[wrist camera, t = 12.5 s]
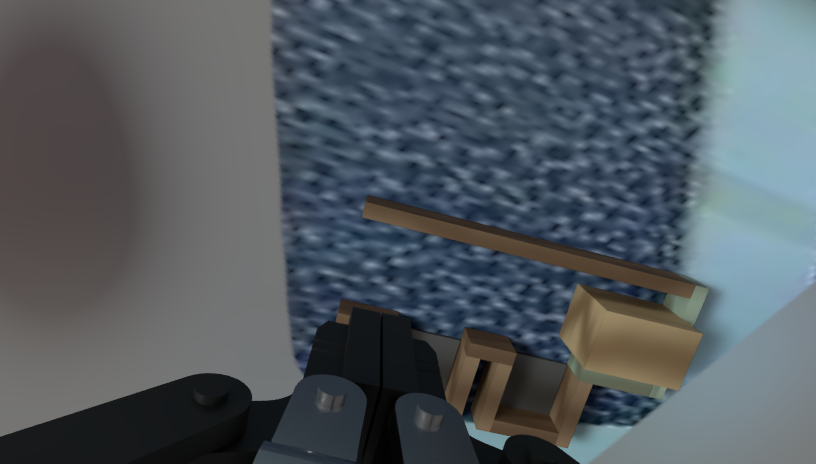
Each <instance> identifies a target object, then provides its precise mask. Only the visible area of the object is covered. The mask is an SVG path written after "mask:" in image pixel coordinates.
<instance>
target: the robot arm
mask: <svg viewBox="0 0 816 464" xmlns="http://www.w3.org/2000/svg"><path fill="white" fill-rule="evenodd" d="M438 365H439V364H438V359H437V354H436V352H435V351H434V350H433V348H432V347H431V346H430V345H429V344H428V343H427V341H423V340H418V339H414V338H412V331H411V323H410V319H409V318H404V317H400V316H395V315H390V314H386V313H382V314H381V317H380V312H376V311H371V310H367V309H362V308H357V307H352V311H351V315H350V319H349V323H348V325H347V324H342V323H337V322H332V321H327V322H326V323H324V324H323V325H321V326H320V327H318V328H317V332H316V335H315V339H314V342H313V346H312V350H311V353H310V356H309V360H308V364H307V367H306V371H305V374H304V378H303V379H302V380H301V381H300V382H299V383H298V384H297V385H296V387H295V389H294V392H293V394H291V395H290V396H287V397H285V398H281V399H278V400H269V401H252V394H251V391H250V389H249V388H248V387H247V386H246V385H245V384H244V383H243V382H241V381H240V380H238V379H235V378H233V377H230V376H227V375H222V374H213V373H204V374H196V375H191V376H188V377H184V378H182V379H178V380H175V381H172V382H169V383H166V384H163V385H160V386H157V387H153V388H150V389H147V390H144V391H141V392H138V393H135V394H132V395H129V396H125V397H123V398H119V399H116V400H113V401H110V402H107V403H104V404H101V405H98V406H94V407H91V408H88V409H85V410H82V411H79V412H76V413H73V414H70V415H66V416H63V417H61V418H57V419H54V420H51V421H48V422H45V423H42V424H39V425H35V426H32V427H29V428H26V429H23V430H20V431H17V432H14V433H11V434H7V435H4V436H1V437H0V464H580V463H578V462H577V461H576V460H574V459H573V458H572V457H571V456H569V455H568V454H567V453H565V452H564V451H563V450H561V449H560V448H558V447H557V446H555V445H554V444H552V443H550V442H548V441H546V440H544V439H541V438H539V437H535V436H532V435H524V434H519V435H514V436H511V437H509V438H508V439H507V440H506V442H505V445H504V447H503V450H500V449H498V448H495V447H493V446H490V445H488V444H486V443H483V442H481V441H479V440H477V439H475V438H473V437H471V436H469V434H468V431H467V428H466V425H465V423H464V420H463V418H462V416H461V414H460V413H459V411H458V410H457V409H456V408H455V407H454V406H452V405H451V404H450V403H448V402H447V401H446V397H445V392H444V387H443V383H442V378H441V376H440V374H441V373H440V368H439V366H438Z"/></svg>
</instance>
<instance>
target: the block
mask: <svg viewBox="0 0 816 464" xmlns="http://www.w3.org/2000/svg"><path fill="white" fill-rule="evenodd" d="M559 336H560V337H561V339H562V340H563V341H564V343H565V344H566V345H567V347H568V348H569V349H570V351H571V352H572V353H573V355H574V356H575V357H576V359H577V360H578V361H579V362H580V364H581V365H582V366H583V368H584V369H585V370H590V371H594V372H599V373H603V374H608V375H612V376H616V377H621V378H625V379H630V380H634V381H638V382H643V383H647V384H652V385H656V386H660V387H665V388H669V389H674V390H678V391H679V388H680V386H681V384H682V381H683V379H684V377H685V375H686V372H687V370H688V368H689V365H690V363H691V361H692V359H693V356H694V354H695V352H696V349H697V347H698V345H699V343H700V340H701V338H702V336H703V333H701V332H700V331H698V330H697V329H696V328H694V327H693V326H691V325H690V324H689V323H687V322H686V321H685V320H683V319H682V318H680V317H679V316H678V315H676V314H675V313H673V312H672V311H671V310H669V309H668V308H667V307H665V306H664V305H662V304H659V303H655V302H651V301H647V300H642V299H638V298H634V297H630V296H626V295H622V294H618V293H614V292H610V291H606V290H602V289H598V288H594V287H590V286H586V285H582V284H578V285H577V287H576V290H575V293H574V296H573V298H572V301H571V304H570V307H569V309H568V312H567V315H566V318H565V320H564V323H563V326H562V328H561V331H560V334H559Z"/></svg>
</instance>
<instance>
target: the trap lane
mask: <svg viewBox="0 0 816 464" xmlns="http://www.w3.org/2000/svg"><path fill="white" fill-rule="evenodd" d="M363 217H364V218H368V219H372V220H376V221H380V222H384V223H388V224H392V225H396V226H400V227H404V228H408V229H412V230H416V231H420V232H424V233H428V234H432V235H436V236H440V237H444V238H448V239H452V240H456V241H460V242H464V243H468V244H472V245H476V246H480V247H484V248H488V249H492V250H496V251H500V252H504V253H508V254H512V255H516V256H520V257H524V258H528V259H532V260H536V261H540V262H544V263H548V264H552V265H556V266H560V267H564V268H568V269H572V270H576V271H580V272H584V273H588V274H592V275H596V276H600V277H604V278H608V279H612V280H616V281H620V282H624V283H628V284H632V285H636V286H640V287H644V288H648V289H652V290H656V291H660V292H664V293H667V295H666V298H665V300H664V303H663V305H664V306H665V307H667V308H668V309H669V310H671V311H672V312H673V313H675V314H676V315H678V316H679V317H680V318H682V319H683V320H685V321H686V322H687V323H689V324H690V325H691V326H694V324H695V322H696V319H697V317H698V315H699V312H700V310H701V308H702V305H703V303H704V301H705V298H706V296H707V294H708V291H709V288H707V287H705V286H704V285H702V284H700V283H698V282H697V281H695V280H693V279H691V278H690V277H688V276H684V275H680V274H676V273H672V272H668V271H664V270H660V269H656V268H652V267H648V266H644V265H641V264H637V263H633V262H629V261H625V260H621V259H617V258H613V257H609V256H605V255H601V254H597V253H593V252H589V251H586V250H582V249H578V248H574V247H570V246H566V245H562V244H558V243H554V242H550V241H546V240H542V239H538V238H534V237H531V236H527V235H523V234H519V233H515V232H511V231H507V230H503V229H499V228H495V227H491V226H487V225H483V224H479V223H476V222H472V221H468V220H464V219H460V218H456V217H452V216H448V215H444V214H440V213H436V212H432V211H428V210H424V209H421V208H417V207H413V206H409V205H405V204H401V203H397V202H393V201H389V200H385V199H381V198H377V197H373V196H369V195H367V199H366V203H365V207H364V211H363ZM352 307H357V308H362V309H367V310H371V311H376V312H380V317H381V314H382V313H386V314H390V315H395V316H399V315H398V312H397V311H392V310H388V309H384V308H379V307H375V306H371V305H366V304H362V303H358V302H353V301H349V300H345V299H341V302H340V306H339V309H338V314H337V319H336V322H337V323H342V324H347V325H348V323H349V319H350V315H351V311H352ZM411 331H412V338H414V339H418V340H423V341H427V343H428V344H429V345H430V346H431V347H432V348H433V350H434V351H435V352H436V354H437V359H438V364H439V365H438V366H439V368H440V373H441V374H440V376H441V378H442V383H443V387H444V392H445V397H446V401H447V402H448V403H450V404H451V405H452V406H454V407H455V408H456V409H457V410H458V411H459V413H460V414H461V416H462V413H463V410H464V407H465V404H466V401H467V398H468V395H469V392H470V389H471V386H472V383H473V380H474V377H475V374H476V371H477V368H478V365H479V362H480V359H482V360H486V363H485V366H484V369H483V372H482V375H481V378H480V381H479V384H478V387H477V390H476V393H475V396H474V399H473V402H472V405H471V408H470V409H471V413H472V416H473V420H474V423H475V426H476V429H478V430H483V431H487V432H492V433H497V434H502V435H507V436H514V435H519V434H524V435H532V436H535V437H539V438H541V439H544V440H546V441H548V442H550V443H552V444H554V445H555V446H560V447H565V448H568V446H569V444H570V441H571V439H572V436H573V433H574V431H575V428H576V426H577V423H578V421H579V418H580V416H581V413H582V411H583V408H584V405H585V403H586V400H587V398H588V395H589V393H590V390H591V388H592V385H593V384H594V385H598V386H603V387H607V388H612V389H616V390H621V391H625V392H630V393H634V394H639V395H643V396H648V397H652V398H657V399H661V400H662V398H663V396H664V393H665V391H666V389H667V388H665V387H660V386H656V385H652V384H647V383H643V382H638V381H634V380H630V379H625V378H621V377H616V376H612V375H608V374H603V373H599V372H594V371H590V370H585V369H584V368H583V366H582V365H581V364H580V362H579V361H578V360H577V359H576V357H575V356H574V355H573V353H572V352H571V354H570V357H569V360H568V362H567V364H566V363H563V362H558V361H554V360H549V359H545V358H540V357H536V356H532V355H527V354H523V353H518V352H516V351H515V349H514V347H513V345H512V343H511V341H510V340H509V338H508V337H505V336H501V335H497V334H492V333H488V332H484V331H479V330H475V329H471V328H466V327H465V328H464V331H463V335H462V338H461V341H460V339H457V338H452V337H448V336H444V335H439V334H435V333H430V332H426V331H422V330H417V329H413V328H411ZM455 356H456V357H455ZM454 359H455V360H454ZM453 362H454V363H453ZM449 375H450V376H449ZM448 378H449V379H448ZM447 381H448V382H447ZM446 384H447V385H446Z"/></svg>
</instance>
